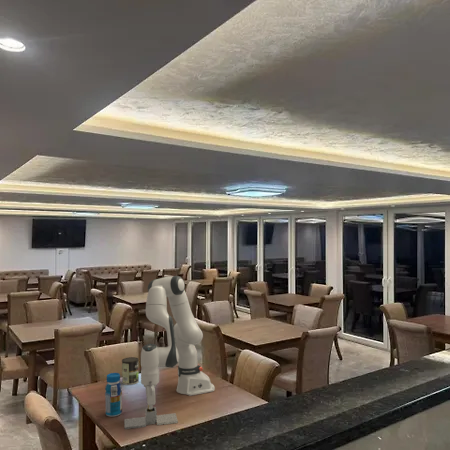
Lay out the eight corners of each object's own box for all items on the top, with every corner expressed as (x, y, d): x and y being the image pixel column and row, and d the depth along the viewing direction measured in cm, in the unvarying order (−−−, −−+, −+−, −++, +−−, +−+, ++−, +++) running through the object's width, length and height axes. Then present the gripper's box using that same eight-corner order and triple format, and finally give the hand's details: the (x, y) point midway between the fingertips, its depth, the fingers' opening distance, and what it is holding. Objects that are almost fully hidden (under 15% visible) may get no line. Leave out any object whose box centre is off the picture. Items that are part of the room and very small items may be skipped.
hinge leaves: (175, 415, 213) (175, 403, 213) (177, 422, 204) (177, 410, 204) (124, 421, 207) (124, 408, 207) (124, 429, 198) (124, 416, 198)
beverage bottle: (101, 416, 214) (101, 376, 214) (111, 409, 221) (111, 371, 222) (115, 418, 211) (115, 378, 211) (125, 411, 218) (125, 372, 219)
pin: (152, 411, 207) (152, 397, 207) (152, 413, 205) (152, 399, 205) (147, 412, 207) (147, 397, 207) (147, 414, 204) (147, 399, 204)
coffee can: (140, 379, 268) (140, 356, 268) (136, 384, 257) (136, 361, 258) (124, 379, 268) (124, 357, 268) (120, 385, 257) (119, 362, 258)
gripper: (158, 385, 197) (158, 415, 196) (155, 371, 217) (155, 398, 216) (144, 386, 195) (144, 416, 195) (142, 372, 215) (143, 400, 215)
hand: (150, 407), depth 206 cm, fingers closed on pin, 2 cm apart
